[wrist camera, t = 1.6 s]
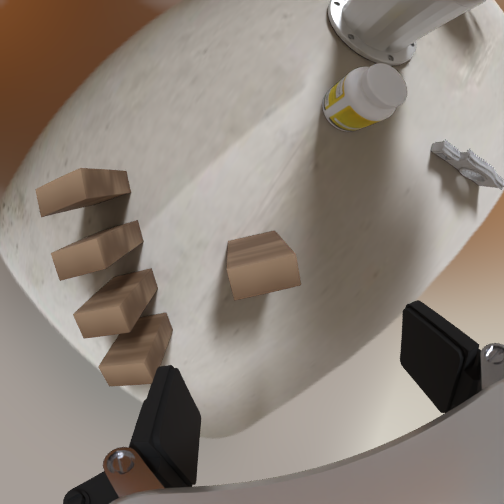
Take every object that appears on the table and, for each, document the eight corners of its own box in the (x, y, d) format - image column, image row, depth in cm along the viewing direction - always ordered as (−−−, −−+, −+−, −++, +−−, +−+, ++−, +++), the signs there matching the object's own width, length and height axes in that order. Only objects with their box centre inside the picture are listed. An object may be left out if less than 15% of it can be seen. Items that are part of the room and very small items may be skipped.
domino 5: (228, 241, 29) (226, 270, 20) (274, 230, 29) (295, 254, 20) (233, 262, 30) (234, 300, 20) (279, 252, 30) (301, 285, 20)
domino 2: (99, 231, 28) (50, 253, 18) (137, 220, 28) (96, 238, 18) (105, 251, 29) (59, 280, 19) (143, 241, 29) (105, 268, 19)
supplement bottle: (372, 126, 27) (422, 109, 18) (332, 137, 27) (375, 120, 18) (354, 83, 26) (397, 53, 16) (313, 93, 26) (347, 59, 16)
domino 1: (88, 184, 27) (35, 189, 17) (126, 171, 27) (80, 168, 17) (93, 205, 27) (41, 217, 17) (131, 192, 27) (86, 198, 18)
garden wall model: (428, 152, 28) (458, 150, 23) (430, 140, 28) (460, 136, 22) (479, 188, 30) (506, 191, 24) (481, 177, 30) (508, 179, 24)
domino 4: (129, 319, 31) (98, 366, 21) (166, 312, 31) (143, 362, 21) (136, 335, 31) (109, 386, 22) (172, 329, 31) (154, 383, 22)
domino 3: (113, 277, 29) (72, 314, 20) (151, 268, 29) (119, 305, 20) (120, 295, 30) (83, 338, 20) (158, 288, 30) (129, 332, 20)
